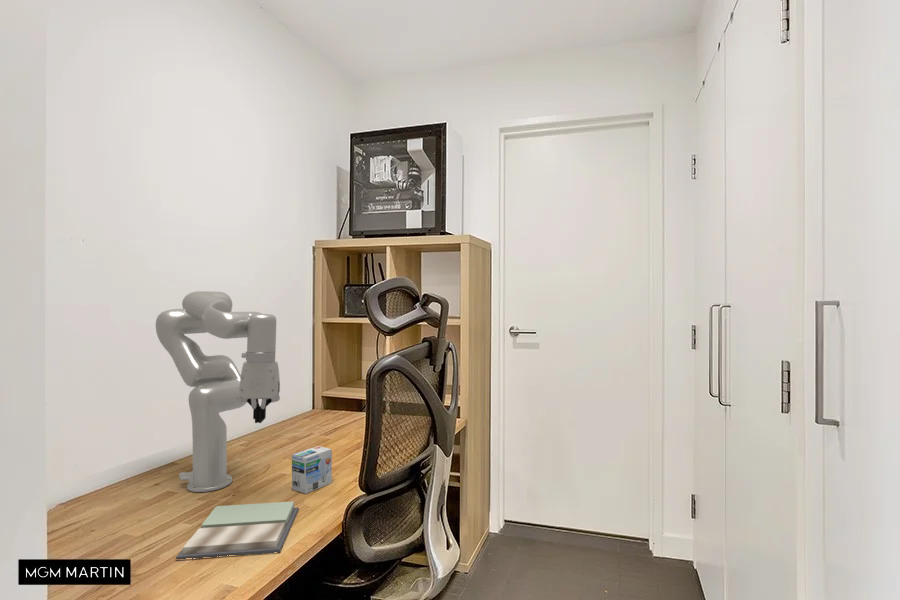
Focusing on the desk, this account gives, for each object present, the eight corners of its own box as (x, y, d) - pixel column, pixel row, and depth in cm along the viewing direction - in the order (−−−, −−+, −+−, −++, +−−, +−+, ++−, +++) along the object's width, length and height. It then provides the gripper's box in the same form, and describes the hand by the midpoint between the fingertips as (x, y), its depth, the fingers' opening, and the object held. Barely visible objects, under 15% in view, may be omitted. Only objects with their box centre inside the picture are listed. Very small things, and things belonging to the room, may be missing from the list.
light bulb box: (306, 494, 138) (305, 458, 138) (290, 490, 142) (290, 454, 142) (332, 482, 147) (332, 448, 147) (317, 478, 151) (317, 445, 151)
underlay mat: (175, 560, 103) (175, 557, 103) (213, 515, 124) (213, 512, 125) (279, 552, 106) (279, 549, 106) (298, 510, 127) (298, 507, 127)
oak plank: (182, 554, 104) (182, 547, 104) (200, 533, 113) (200, 526, 113) (276, 547, 106) (276, 540, 106) (285, 527, 116) (285, 521, 116)
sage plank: (201, 531, 114) (201, 525, 114) (216, 511, 124) (216, 506, 124) (286, 525, 117) (286, 519, 117) (294, 506, 127) (294, 501, 127)
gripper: (228, 359, 128) (227, 425, 128) (285, 360, 130) (283, 425, 130) (238, 355, 135) (236, 418, 136) (291, 356, 137) (289, 418, 138)
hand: (259, 421), depth 133 cm, fingers closed
